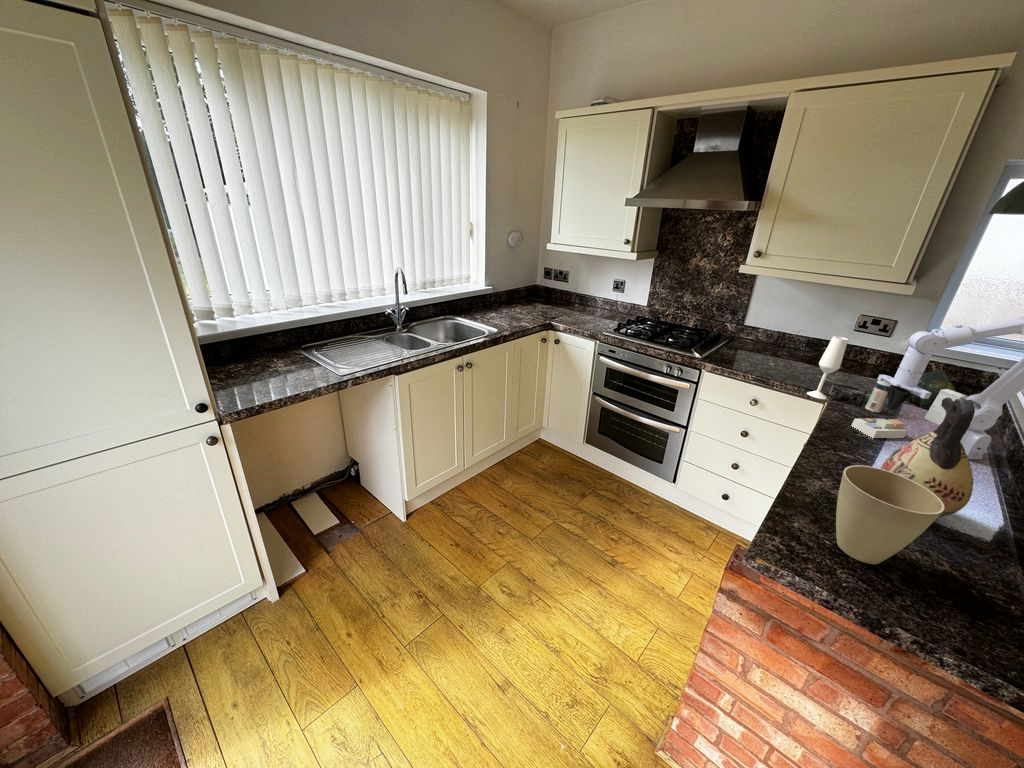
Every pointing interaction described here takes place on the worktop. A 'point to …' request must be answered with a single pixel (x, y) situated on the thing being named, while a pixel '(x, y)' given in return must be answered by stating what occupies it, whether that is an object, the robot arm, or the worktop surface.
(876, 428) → the slate blue key
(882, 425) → the sage key
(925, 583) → the worktop surface
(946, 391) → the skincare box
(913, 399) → the squash
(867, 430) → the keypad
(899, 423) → the terracotta key
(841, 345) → the champagne flute
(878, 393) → the beige capped bottle
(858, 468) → the plant pot
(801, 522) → the worktop surface
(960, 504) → the ceramic jug
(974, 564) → the worktop surface
